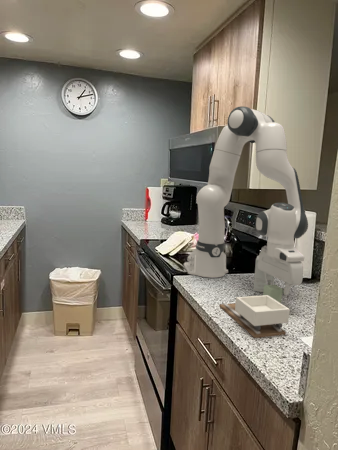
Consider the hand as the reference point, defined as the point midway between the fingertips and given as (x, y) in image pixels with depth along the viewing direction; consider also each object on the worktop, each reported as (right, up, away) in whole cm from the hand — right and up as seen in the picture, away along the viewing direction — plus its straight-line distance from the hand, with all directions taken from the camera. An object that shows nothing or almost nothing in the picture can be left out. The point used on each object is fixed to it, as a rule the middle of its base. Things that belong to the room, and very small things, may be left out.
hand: (276, 289), depth 121 cm
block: (-2, -5, +1) cm, 5 cm away
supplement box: (-1, -3, +15) cm, 15 cm away
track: (-13, -7, -14) cm, 20 cm away
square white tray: (-11, -6, -19) cm, 23 cm away
